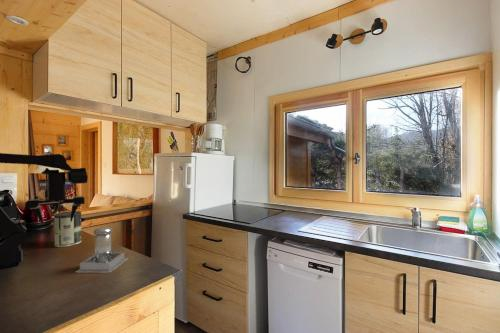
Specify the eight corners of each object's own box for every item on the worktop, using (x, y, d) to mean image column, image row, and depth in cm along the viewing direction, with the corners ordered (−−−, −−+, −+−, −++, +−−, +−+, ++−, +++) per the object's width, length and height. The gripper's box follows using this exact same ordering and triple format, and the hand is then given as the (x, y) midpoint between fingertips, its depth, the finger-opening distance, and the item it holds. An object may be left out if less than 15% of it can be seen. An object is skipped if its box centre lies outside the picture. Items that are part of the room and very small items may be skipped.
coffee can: (75, 238, 122) (75, 210, 121) (85, 242, 116) (85, 212, 116) (50, 244, 113) (49, 214, 113) (59, 248, 107) (59, 216, 107)
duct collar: (75, 272, 84) (75, 264, 84) (97, 258, 96) (97, 251, 96) (110, 272, 84) (110, 264, 84) (127, 258, 96) (127, 251, 96)
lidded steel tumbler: (98, 269, 86) (98, 232, 85) (90, 265, 89) (90, 229, 89) (115, 263, 90) (115, 228, 90) (107, 259, 94) (107, 226, 94)
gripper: (84, 182, 112) (84, 216, 112) (29, 184, 101) (30, 222, 102) (84, 184, 103) (84, 221, 103) (24, 186, 92) (25, 228, 92)
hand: (57, 222), depth 100 cm, fingers open, 9 cm apart
